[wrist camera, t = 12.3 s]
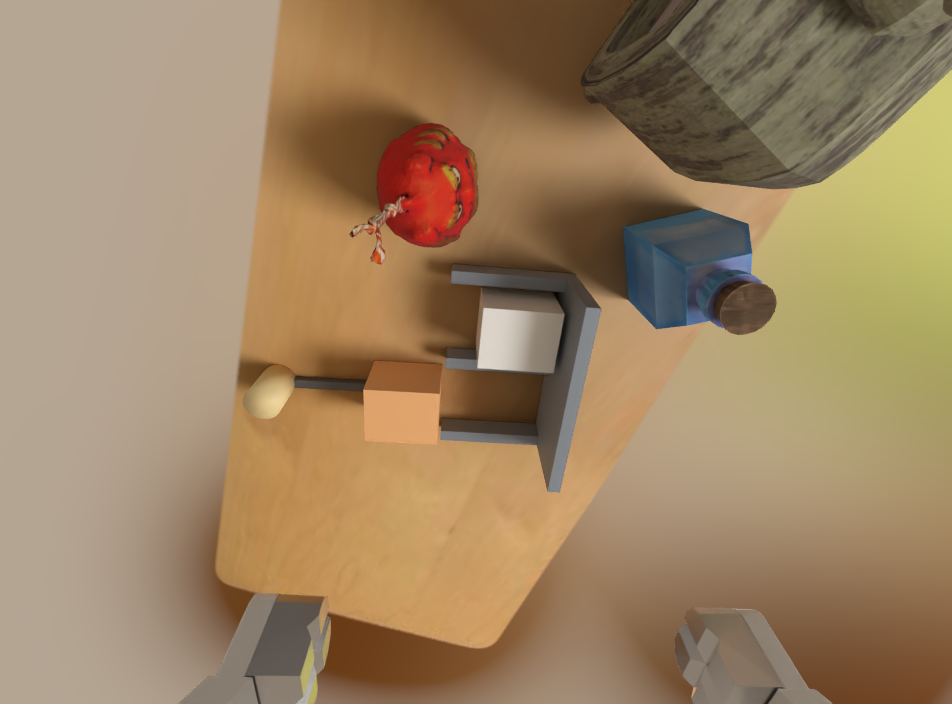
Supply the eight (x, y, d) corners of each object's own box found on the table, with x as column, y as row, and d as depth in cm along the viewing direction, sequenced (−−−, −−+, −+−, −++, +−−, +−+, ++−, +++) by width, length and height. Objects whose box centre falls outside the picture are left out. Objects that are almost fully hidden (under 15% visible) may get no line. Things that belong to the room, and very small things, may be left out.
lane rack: (452, 263, 36) (449, 297, 29) (574, 273, 37) (601, 308, 30) (441, 426, 43) (436, 486, 36) (543, 432, 44) (559, 492, 37)
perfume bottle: (628, 299, 38) (693, 367, 27) (622, 226, 35) (692, 269, 24) (702, 284, 37) (798, 346, 27) (702, 208, 35) (810, 244, 24)
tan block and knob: (259, 353, 39) (232, 382, 35) (442, 364, 40) (439, 394, 36) (266, 402, 41) (242, 435, 37) (439, 411, 42) (437, 444, 38)
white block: (481, 286, 37) (483, 307, 33) (552, 292, 38) (564, 314, 33) (475, 341, 39) (477, 368, 35) (543, 345, 40) (553, 373, 35)
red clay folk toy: (484, 226, 35) (497, 287, 21) (395, 240, 35) (353, 308, 22) (470, 117, 32) (474, 108, 18) (371, 133, 32) (304, 136, 18)
